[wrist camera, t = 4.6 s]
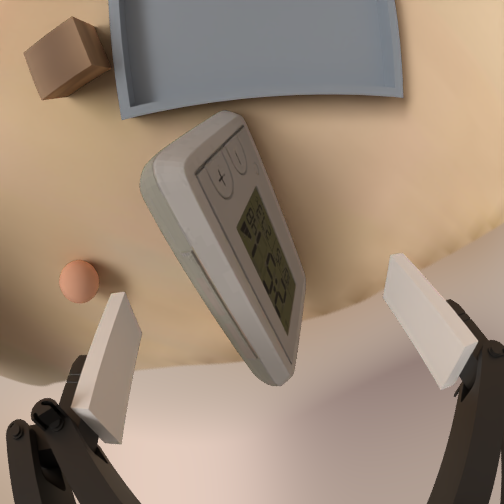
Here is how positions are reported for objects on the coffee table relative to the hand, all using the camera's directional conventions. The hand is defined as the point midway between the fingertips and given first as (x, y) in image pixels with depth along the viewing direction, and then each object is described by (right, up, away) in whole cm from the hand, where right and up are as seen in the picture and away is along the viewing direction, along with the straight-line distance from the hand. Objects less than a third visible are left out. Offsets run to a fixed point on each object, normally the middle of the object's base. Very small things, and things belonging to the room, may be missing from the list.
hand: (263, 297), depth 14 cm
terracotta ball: (-15, +1, +10) cm, 18 cm away
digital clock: (-1, +5, +9) cm, 11 cm away
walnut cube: (-13, +16, +1) cm, 20 cm away
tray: (0, +19, +1) cm, 19 cm away
